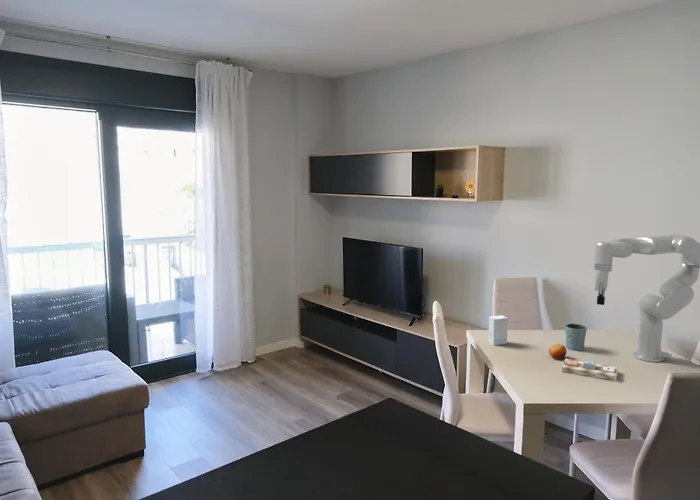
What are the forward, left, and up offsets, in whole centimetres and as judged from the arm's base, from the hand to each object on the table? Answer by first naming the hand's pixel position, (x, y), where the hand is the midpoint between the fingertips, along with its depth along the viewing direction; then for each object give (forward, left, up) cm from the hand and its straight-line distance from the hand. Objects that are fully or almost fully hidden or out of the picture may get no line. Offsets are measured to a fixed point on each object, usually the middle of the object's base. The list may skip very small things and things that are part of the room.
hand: (600, 304), depth 238 cm
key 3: (+9, +22, -26) cm, 36 cm away
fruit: (+17, +10, -27) cm, 34 cm away
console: (+2, +23, -27) cm, 35 cm away
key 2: (+2, +23, -25) cm, 34 cm away
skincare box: (+48, +3, -27) cm, 55 cm away
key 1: (-6, +22, -26) cm, 35 cm away
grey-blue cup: (+11, -9, -27) cm, 31 cm away
